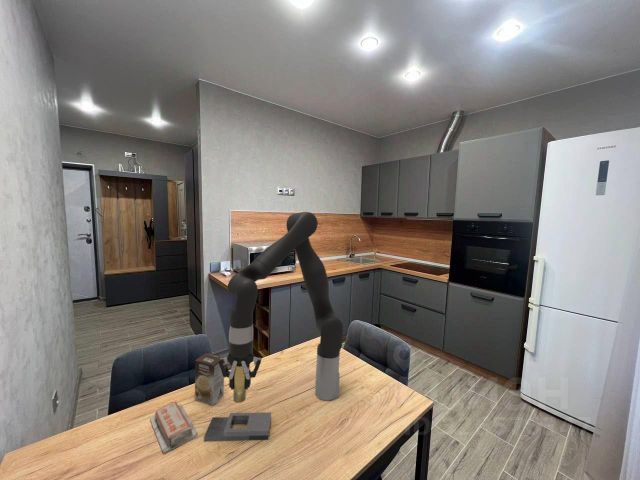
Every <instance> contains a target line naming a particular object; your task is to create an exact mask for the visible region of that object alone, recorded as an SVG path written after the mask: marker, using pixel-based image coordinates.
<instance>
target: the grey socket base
mask: <svg viewBox="0 0 640 480" xmlns="http://www.w3.org/2000/svg"><path fill="white" fill-rule="evenodd" d="M271 423H272V412H231V413H230V414H229V416H226V417H224V416H223V417H222V416H221V417H219V416H217V417H212V418H211V420H210V422H209V424H208V426H207V429H206V431H205V434H204V436H203V442H222V441H223V442H226V441H232V442H233V441H266V440H269V437H270V432H271V431H270V430H271ZM242 424H243V425H246V427H245V428H244V427H243V428H242V427H241V428H240V427H239V428H233V425H242Z"/></svg>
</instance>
